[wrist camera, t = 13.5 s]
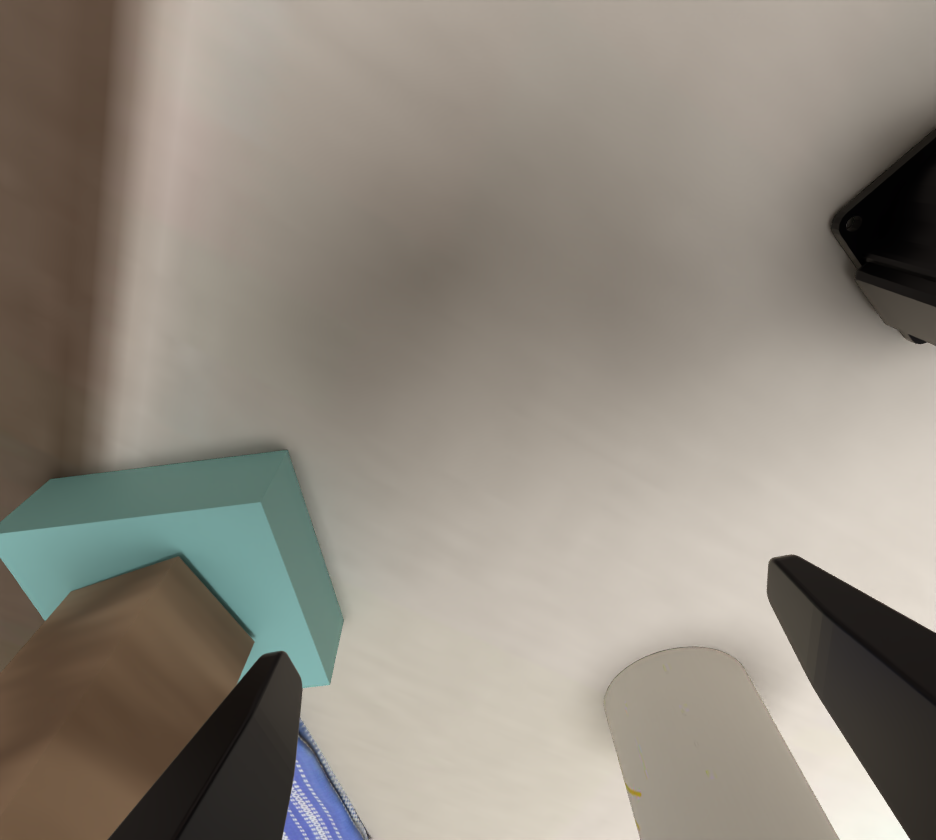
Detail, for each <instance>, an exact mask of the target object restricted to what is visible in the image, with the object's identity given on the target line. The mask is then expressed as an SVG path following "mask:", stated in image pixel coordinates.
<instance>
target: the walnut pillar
mask: <svg viewBox="0 0 936 840" xmlns="http://www.w3.org/2000/svg"><path fill="white" fill-rule="evenodd" d="M254 643H255V642H254V640H253V639H252V638H251V637H250V636H249V635H248V634H247V633H246V631H245V630H244V629H243V628H242V627H241V626H240V625H239V624H238V622H237V621H236V620H235V619H234V618H233V617H232V616H231V615H230V613H229V612H228V611H227V610H226V609H225V608H224V607H223V606H222V604H221V603H220V602H219V601H218V600H217V599H216V598H215V597H214V595H213V594H212V593H211V592H210V591H209V590H208V589H207V588H206V586H205V585H204V584H203V583H202V582H201V581H200V580H199V579H198V577H197V576H196V575H195V574H194V573H193V572H192V571H191V570H190V568H189V567H188V566H187V565H186V564H185V563H184V562H183V561H182V559H181V558H180V557H179V556H177V557H174V558H171V559H168V560H165V561H162V562H159V563H156V564H153V565H150V566H147V567H144V568H141V569H138V570H135V571H132V572H129V573H126V574H123V575H120V576H117V577H113V578H110V579H107V580H104V581H101V582H98V583H95V584H92V585H89V586H86V587H83V588H80V589H77V590H74V591H71V592H70V593H69V594H68V595H67V596H66V598H65V599H64V600H63V601H62V602H61V603H60V605H59V606H58V607H57V608H56V609H55V610H54V612H53V613H52V614H51V615H50V616H49V617H48V618H47V620H46V621H45V622H44V623H43V624H42V625H41V627H40V628H39V629H38V630H37V631H36V632H35V634H34V635H33V636H32V637H31V638H30V639H29V641H28V642H27V643H26V644H25V645H24V646H23V648H22V649H21V650H20V651H19V652H18V653H17V654H16V656H15V657H14V658H13V659H12V660H11V661H10V663H9V664H8V665H7V666H6V667H5V668H4V670H3V671H2V672H1V673H0V840H107V839H108V838H109V837H110V836H111V834H112V833H113V832H114V831H115V830H116V829H117V827H118V826H119V825H120V824H121V823H122V821H123V820H124V819H125V818H126V817H127V815H128V814H129V813H130V812H131V811H132V809H133V808H134V807H135V806H136V805H137V803H138V802H139V801H140V800H141V799H142V797H143V796H144V795H145V794H146V793H147V791H148V790H149V789H150V788H151V787H152V785H153V784H154V783H155V782H156V781H157V779H158V778H159V777H160V776H161V775H162V773H163V772H164V771H165V770H166V769H167V767H168V766H169V765H170V764H171V763H172V761H173V760H174V759H175V758H176V757H177V755H178V754H179V753H180V752H181V751H182V749H183V748H184V747H185V746H186V745H187V743H188V742H189V741H190V740H191V739H192V737H193V736H194V735H195V734H196V733H197V731H198V730H199V729H200V728H201V727H202V725H203V724H204V723H205V722H206V721H207V719H208V718H209V717H210V716H211V715H212V713H213V712H214V711H215V710H216V709H217V707H218V706H219V705H220V704H221V703H222V702H223V700H224V699H225V698H226V697H227V696H228V694H229V693H230V692H231V691H232V690H233V688H234V687H235V686H236V685H237V683H238V680H239V678H240V676H241V673H242V671H243V669H244V666H245V664H246V662H247V659H248V657H249V654H250V652H251V650H252V647H253V645H254Z"/></svg>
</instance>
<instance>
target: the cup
mask: <svg viewBox="0 0 936 840" xmlns="http://www.w3.org/2000/svg"><path fill="white" fill-rule="evenodd" d="M604 708H605V712H606V716H607V720H608V723H609V727H610V731H611V734H612V738H613V742H614V745H615V749H616V753H617V756H618V760H619V763H620V767H621V771H622V774H623V778H624V782H625V785H626V789H627V793H628V796H629V800H630V804H631V807H632V811H633V814H634V818H635V822H636V825H637V829H638V833H639V836H640V840H840V839H839V838H838V836H837V834H836V832H835V831H834V829H833V827H832V825H831V823H830V822H829V820H828V818H827V816H826V814H825V813H824V811H823V809H822V807H821V805H820V804H819V802H818V800H817V798H816V796H815V795H814V793H813V791H812V789H811V787H810V786H809V784H808V782H807V780H806V778H805V777H804V775H803V773H802V771H801V770H800V768H799V766H798V764H797V762H796V761H795V759H794V757H793V755H792V753H791V752H790V750H789V748H788V746H787V744H786V743H785V741H784V739H783V737H782V735H781V734H780V732H779V730H778V728H777V726H776V725H775V723H774V721H773V719H772V717H771V716H770V714H769V712H768V710H767V709H766V707H765V705H764V703H763V701H762V700H761V698H760V696H759V694H758V692H757V691H756V689H755V687H754V685H753V683H752V682H751V680H750V678H749V676H748V674H747V673H746V671H745V669H744V667H743V666H742V665H741V664H740V663H739V662H738V661H737V660H736V659H735V658H733V657H732V656H730V655H728V654H726V653H724V652H721V651H718V650H714V649H710V648H702V647H683V648H675V649H669V650H665V651H661V652H658V653H655V654H652V655H649V656H647V657H645V658H642V659H640V660H638V661H637V662H635V663H633V664H631V665H630V666H628V667H627V668H626V669H624V670H623V671H622V672H621V673H620V674H619V675H618V676H617V677H616V678H615V679H614V680H613V681H612V683H611V684H610V686H609V688H608V689H607V692H606V695H605V699H604Z"/></svg>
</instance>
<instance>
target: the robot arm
mask: <svg viewBox="0 0 936 840" xmlns="http://www.w3.org/2000/svg"><path fill="white" fill-rule="evenodd" d="M851 217H854V222H853V224H852V225H851V227H850V228H848V229H847V227H846V225H847V222H848V220H849V219H850V218H851ZM831 229H832V232H833V234H834V235H835V237H836V238H837V240H838V241H839V243H840V244H841V246H842V247H843V249H844V250H845V251H846V253H847V254H848V256H849V257H850V259H851V260H852V262H853V263H854V265H855V266H856V268H857V270H856V271H855V281H856V283H857V284H858V285H859V287H860V288H861V290H862V291H863V293H864V294H865V296H866V297H867V298H868V300H869V301H870V303H871V304H872V306H873V307H874V309H875V310H876V311H877V313H878V314H879V316H880V317H881V319H882V320H883V321H884V323H885V324H887V325H889V326H891V327H893V328H896V329H898V330H900V332H901V333H902V335H903V336H904V337H905V338H906V339H907V340H909V341H911V342H914V343H916V344H923V343H926V342H928V343H931V344H933V345H935V346H936V129H935V130H933V131H932V132H931V133H930V134H929V135H928V136H926V137H925V138H924V139H923V140H922V141H921V142H919V143H918V144H917V145H916V146H915V147H913V148H912V149H911V150H910V151H909V152H908V153H906V154H905V155H904V156H903V157H902V158H901V159H899V160H898V161H897V162H896V163H895V164H894V165H892V166H891V167H890V168H889V169H888V170H887V171H885V172H884V173H883V174H882V175H881V176H880V177H878V178H877V179H876V180H875V181H874V182H873V183H871V184H870V185H869V186H868V187H867V188H866V189H864V190H863V191H862V192H861V193H860V194H859V195H857V196H856V197H855V198H854V199H853V200H852V201H850V202H849V203H848V204H847V205H846V206H845V207H843V208H842V209H841V210H840V211H839V212H838V213H837V214H836V215H835V216H834V219H833V221H832V225H831ZM767 596H768V599H769V602H770V604H771V606H772V608H773V610H774V612H775V614H776V616H777V618H778V620H779V622H780V624H781V626H782V628H783V630H784V632H785V634H786V636H787V638H788V640H789V642H790V644H791V646H792V648H793V650H794V652H795V654H796V656H797V658H798V660H799V662H800V664H801V666H802V668H803V670H804V672H805V673H806V675H807V677H808V679H809V681H810V683H811V685H812V687H813V688H814V690H815V692H816V693H817V695H818V696H819V698H820V700H821V701H822V703H823V705H824V706H825V708H826V709H827V711H828V712H829V714H830V715H831V717H832V719H833V720H834V722H835V723H836V725H837V726H838V728H839V729H840V731H841V733H842V734H843V736H844V737H845V739H846V740H847V742H848V743H849V745H850V747H851V748H852V750H853V751H854V753H855V754H856V756H857V757H858V759H859V761H860V762H861V764H862V765H863V767H864V768H865V770H866V771H867V773H868V775H869V776H870V778H871V779H872V781H873V782H874V784H875V785H876V787H877V789H878V790H879V792H880V793H881V795H882V796H883V798H884V799H885V801H886V803H887V804H888V806H889V807H890V809H891V810H892V812H893V813H894V815H895V817H896V818H897V820H898V821H899V823H900V824H901V826H902V828H903V829H904V831H905V832H906V834H907V835H908V837H909V838H910V840H936V633H935V632H933V631H931V630H930V629H928V628H926V627H924V626H922V625H921V624H919V623H917V622H915V621H913V620H912V619H910V618H908V617H906V616H905V615H903V614H901V613H899V612H897V611H896V610H894V609H892V608H890V607H888V606H887V605H885V604H883V603H881V602H880V601H878V600H876V599H874V598H872V597H871V596H869V595H867V594H865V593H863V592H862V591H860V590H858V589H856V588H855V587H853V586H851V585H849V584H847V583H846V582H844V581H842V580H840V579H838V578H837V577H835V576H833V575H831V574H830V573H828V572H826V571H824V570H822V569H821V568H819V567H817V566H815V565H813V564H812V563H810V562H808V561H806V560H804V559H803V558H801V557H799V556H796V555H785V556H780V557H774V558H772V559H771V560H770V561H769V564H768V578H767ZM301 700H302V680H301V677H300V675H299V673H298V671H297V670H296V668H295V666H294V664H293V663H292V661H291V659H290V658H289V656H288V654H287V653H286V652H284V651H276V652H270V653H266V654H263V655H262V656H260V657H259V658H258V660H257V661H256V662H255V663H254V664H253V666H252V667H251V668H250V669H249V670H248V672H247V673H246V674H245V675H244V676H243V678H242V679H241V680H240V681H239V682H238V684H237V685H236V686H235V687H234V688H233V690H232V691H231V692H230V693H229V694H228V696H227V697H226V698H225V699H224V700H223V702H222V703H221V704H220V705H219V706H218V707H217V709H216V710H215V711H214V712H213V713H212V715H211V716H210V717H209V718H208V719H207V721H206V722H205V723H204V724H203V725H202V727H201V728H200V729H199V730H198V731H197V733H196V734H195V735H194V736H193V737H192V739H191V740H190V741H189V742H188V743H187V745H186V746H185V747H184V748H183V749H182V751H181V752H180V753H179V754H178V755H177V757H176V758H175V759H174V760H173V761H172V763H171V764H170V765H169V766H168V767H167V769H166V770H165V771H164V772H163V773H162V775H161V776H160V777H159V778H158V779H157V781H156V782H155V783H154V784H153V785H152V787H151V788H150V789H149V790H148V791H147V793H146V794H145V795H144V796H143V797H142V799H141V800H140V801H139V802H138V803H137V805H136V806H135V807H134V808H133V809H132V811H131V812H130V813H129V814H128V815H127V817H126V818H125V819H124V820H123V821H122V823H121V824H120V825H119V826H118V827H117V829H116V830H115V831H114V832H113V833H112V834H111V836H110V837H109V838H108V839H107V840H282V837H283V832H284V827H285V822H286V817H287V812H288V806H289V801H290V796H291V791H292V785H293V779H294V772H295V764H296V754H297V743H298V733H299V722H300V711H301Z"/></svg>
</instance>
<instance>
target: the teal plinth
mask: <svg viewBox="0 0 936 840" xmlns="http://www.w3.org/2000/svg"><path fill="white" fill-rule="evenodd" d="M177 556H179V557H180V558H181V559H182V561H183V562H184V563H185V564H186V565H187V566H188V567H189V568H190V570H191V571H192V572H193V573H194V574H195V575H196V576H197V577H198V579H199V580H200V581H201V582H202V583H203V584H204V585H205V586H206V588H207V589H208V590H209V591H210V592H211V593H212V594H213V595H214V597H215V598H216V599H217V600H218V601H219V602H220V603H221V604H222V606H223V607H224V608H225V609H226V610H227V611H228V612H229V613H230V615H231V616H232V617H233V618H234V619H235V620H236V621H237V622H238V624H239V625H240V626H241V627H242V628H243V629H244V630H245V631H246V633H247V634H248V635H249V636H250V637H251V638H252V639H253V640H254V642H255V643H254V645H253V647H252V650H251V652H250V654H249V657H248V659H247V662H246V664H245V666H244V669H243V671H242V673H241V676H240V678H239V680H238V682H239V681H240V680H241V679H242V678H243V676H244V675H245V674H246V673H247V672H248V670H249V669H250V668H251V667H252V666H253V664H254V663H255V662H256V661H257V660H258V658H259V657H260V656H262V655H263V654H266V653H270V652H276V651H284V652H286V653H287V654H288V656H289V658H290V659H291V661H292V663H293V664H294V666H295V668H296V670H297V671H298V673H299V675H300V677H301V680H302V688H307V687H315V686H324V685H330V682H331V678H332V673H333V668H334V663H335V659H336V654H337V649H338V645H339V640H340V635H341V631H342V626H343V621H344V619H343V616H342V613H341V610H340V607H339V604H338V601H337V598H336V595H335V592H334V589H333V586H332V583H331V580H330V577H329V574H328V571H327V568H326V565H325V562H324V559H323V556H322V553H321V550H320V547H319V544H318V541H317V538H316V535H315V532H314V529H313V526H312V523H311V520H310V516H309V513H308V510H307V507H306V504H305V501H304V498H303V495H302V492H301V489H300V486H299V483H298V480H297V477H296V474H295V471H294V468H293V465H292V462H291V459H290V456H289V453H288V450H283V451H274V452H266V453H258V454H250V455H242V456H234V457H226V458H218V459H210V460H202V461H193V462H185V463H177V464H169V465H161V466H153V467H145V468H137V469H129V470H121V471H112V472H104V473H96V474H88V475H80V476H72V477H64V478H56V479H50V480H49V481H48V482H46V483H45V484H44V485H43V486H42V487H41V488H40V489H38V490H37V491H36V492H35V493H34V494H33V495H31V496H30V497H29V498H28V499H27V500H26V501H24V502H23V503H22V504H21V505H20V506H19V507H17V508H16V509H15V510H14V511H13V512H12V513H10V514H9V515H8V516H7V517H6V518H5V519H4V520H2V521H1V522H0V558H1V559H2V561H3V562H4V563H5V565H6V566H7V568H8V569H9V571H10V572H11V573H12V575H13V576H14V578H15V579H16V580H17V582H18V583H19V585H20V586H21V587H22V589H23V590H24V592H25V593H26V595H27V596H28V597H29V599H30V600H31V602H32V603H33V604H34V606H35V607H36V609H37V610H38V612H39V613H40V614H41V616H42V617H43V619H44V620H45V621H46V620H47V618H48V617H49V616H50V615H51V614H52V613H53V612H54V610H55V609H56V608H57V607H58V606H59V605H60V603H61V602H62V601H63V600H64V599H65V598H66V596H67V595H68V594H69V593H70V592H71V591H74V590H77V589H80V588H83V587H86V586H89V585H92V584H95V583H98V582H101V581H104V580H107V579H110V578H113V577H117V576H120V575H123V574H126V573H129V572H132V571H135V570H138V569H141V568H144V567H147V566H150V565H153V564H156V563H159V562H162V561H165V560H168V559H171V558H174V557H177ZM237 684H238V683H237Z"/></svg>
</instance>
